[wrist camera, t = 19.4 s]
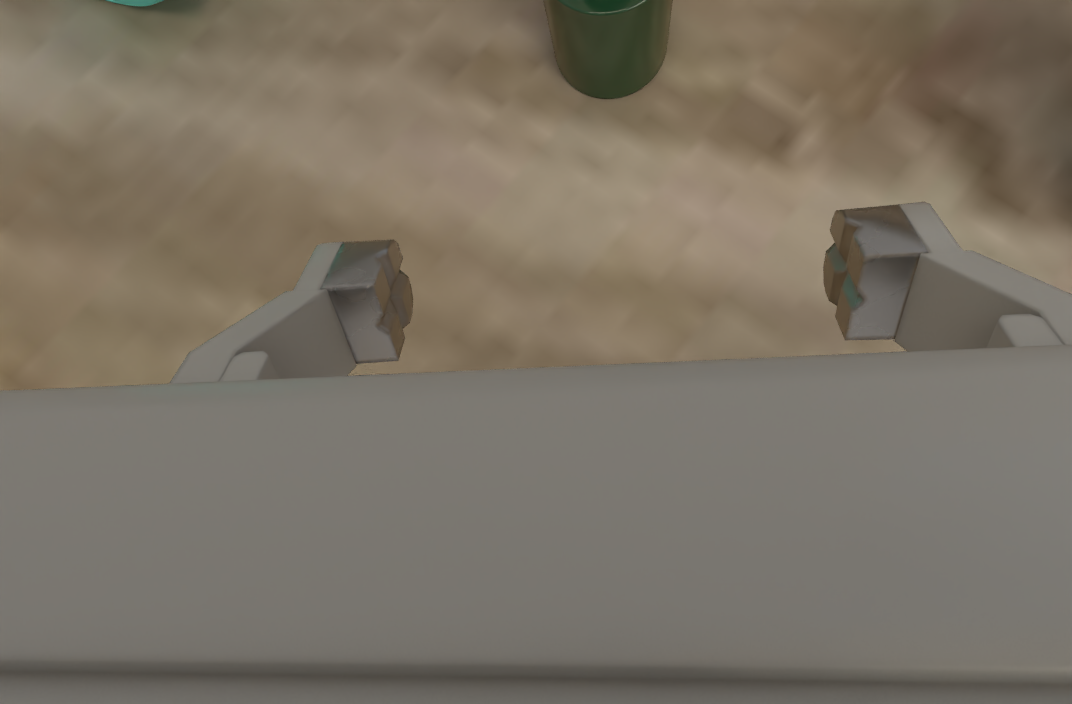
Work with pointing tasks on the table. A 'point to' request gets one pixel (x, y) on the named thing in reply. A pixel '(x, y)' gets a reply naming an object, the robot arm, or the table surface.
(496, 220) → the table surface
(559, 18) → the bottle
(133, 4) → the decorative dice
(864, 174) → the table surface
